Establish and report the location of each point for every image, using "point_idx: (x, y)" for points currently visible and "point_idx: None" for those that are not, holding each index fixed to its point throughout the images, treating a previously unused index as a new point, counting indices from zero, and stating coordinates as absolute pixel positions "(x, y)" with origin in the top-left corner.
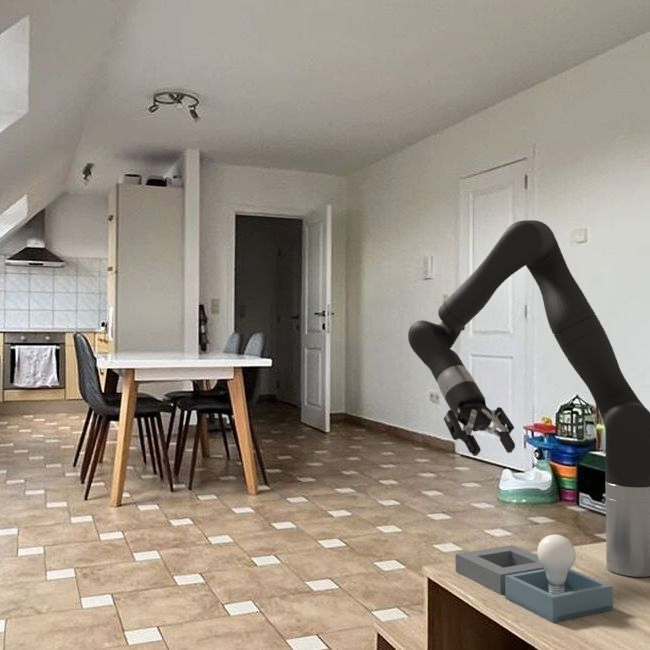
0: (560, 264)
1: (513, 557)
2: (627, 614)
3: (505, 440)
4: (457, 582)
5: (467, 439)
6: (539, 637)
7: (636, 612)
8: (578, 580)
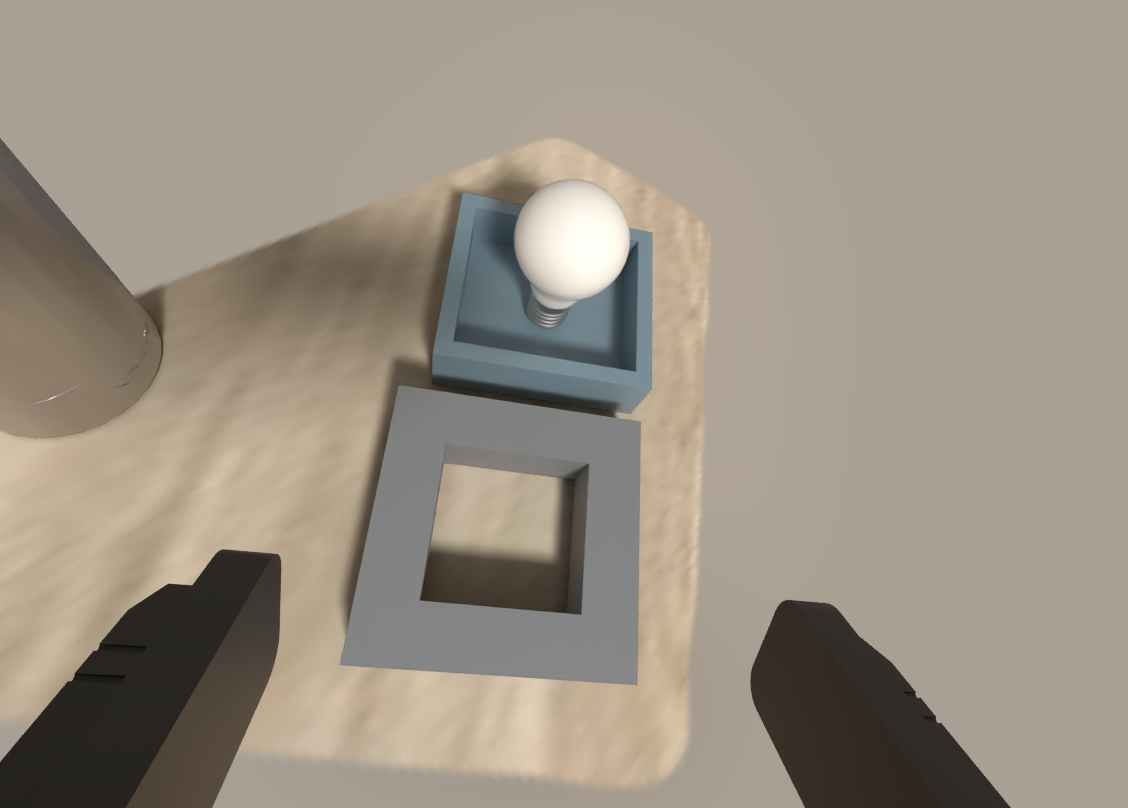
0: None
1: (423, 580)
2: (454, 204)
3: (207, 733)
4: (671, 584)
5: (995, 805)
6: (703, 245)
7: (425, 198)
8: (462, 290)
